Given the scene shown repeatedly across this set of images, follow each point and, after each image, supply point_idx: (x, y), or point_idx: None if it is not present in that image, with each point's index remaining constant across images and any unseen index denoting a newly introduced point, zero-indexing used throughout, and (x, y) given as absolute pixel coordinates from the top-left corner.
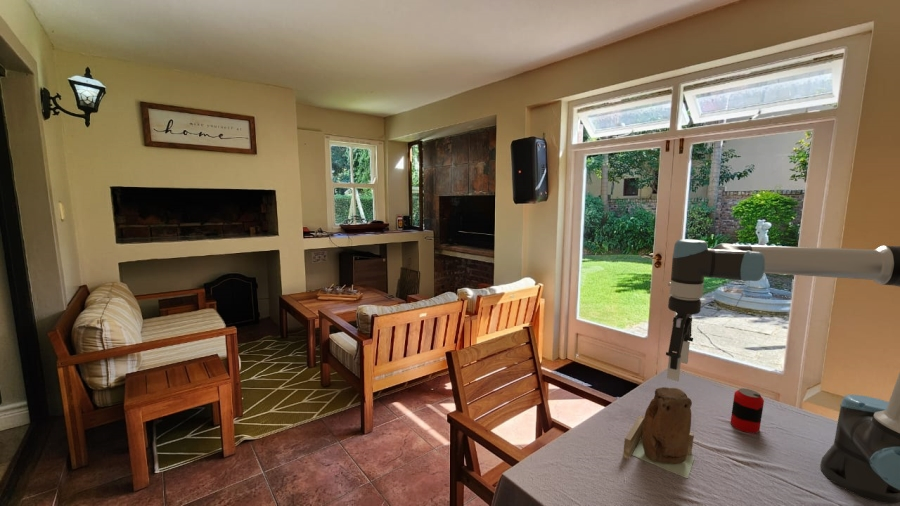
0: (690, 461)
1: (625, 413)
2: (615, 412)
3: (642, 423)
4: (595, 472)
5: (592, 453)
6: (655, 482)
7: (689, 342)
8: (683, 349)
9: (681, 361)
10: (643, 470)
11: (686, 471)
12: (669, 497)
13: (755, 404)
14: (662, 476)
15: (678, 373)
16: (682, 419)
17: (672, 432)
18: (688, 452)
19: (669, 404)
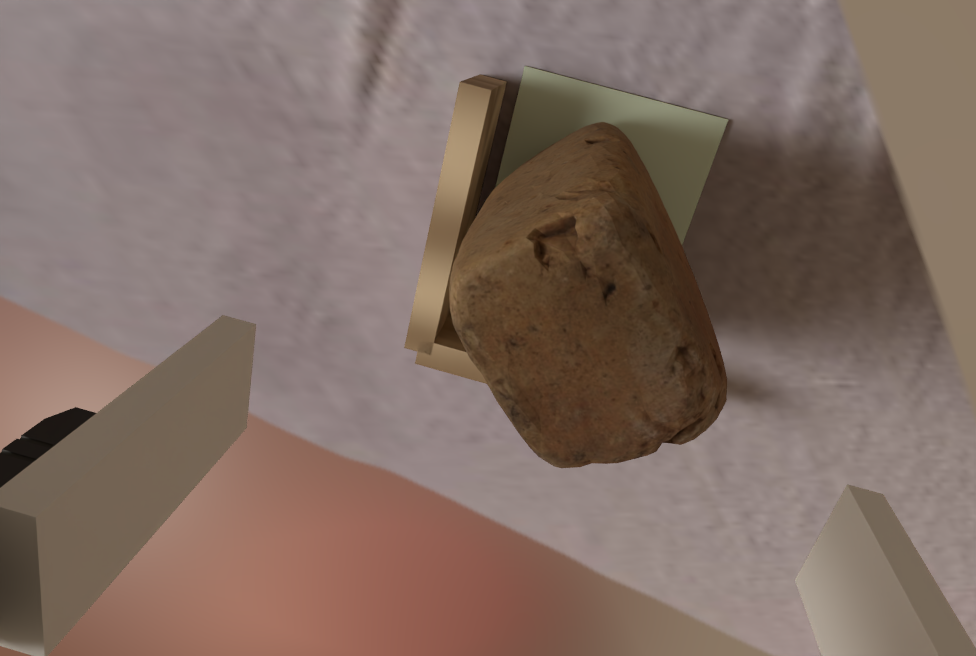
0: (576, 91)
1: (290, 368)
2: (309, 411)
3: (456, 338)
4: (829, 487)
5: (699, 499)
6: (811, 264)
7: (25, 514)
8: (141, 483)
9: (242, 388)
10: (739, 309)
11: (673, 120)
12: (901, 213)
13: None
14: (753, 231)
15: (925, 575)
16: (660, 225)
17: (683, 254)
18: (502, 94)
19: (718, 372)
